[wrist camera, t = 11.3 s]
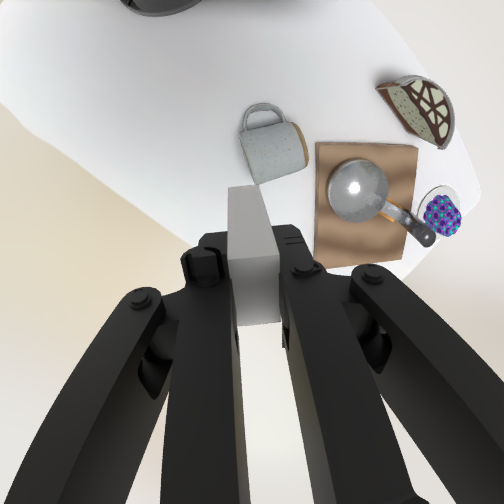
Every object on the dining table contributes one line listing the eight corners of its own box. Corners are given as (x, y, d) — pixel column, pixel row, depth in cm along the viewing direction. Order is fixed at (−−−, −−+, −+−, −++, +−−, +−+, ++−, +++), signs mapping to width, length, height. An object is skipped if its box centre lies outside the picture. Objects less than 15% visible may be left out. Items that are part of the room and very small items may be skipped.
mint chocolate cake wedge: (430, 118, 39) (467, 128, 30) (410, 138, 41) (446, 152, 32) (392, 61, 34) (428, 59, 25) (369, 81, 36) (403, 82, 27)
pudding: (426, 248, 53) (439, 261, 49) (406, 209, 48) (421, 221, 44) (463, 215, 50) (477, 226, 45) (447, 173, 44) (463, 182, 40)
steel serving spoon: (315, 203, 43) (331, 225, 37) (345, 147, 39) (368, 159, 32) (396, 242, 48) (417, 266, 42) (423, 197, 44) (449, 216, 37)
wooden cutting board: (315, 142, 41) (319, 145, 39) (412, 145, 41) (418, 148, 40) (313, 263, 52) (316, 270, 51) (396, 254, 53) (401, 259, 51)
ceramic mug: (302, 162, 42) (316, 174, 36) (252, 177, 43) (256, 192, 37) (283, 97, 37) (294, 96, 31) (229, 113, 38) (229, 115, 31)
